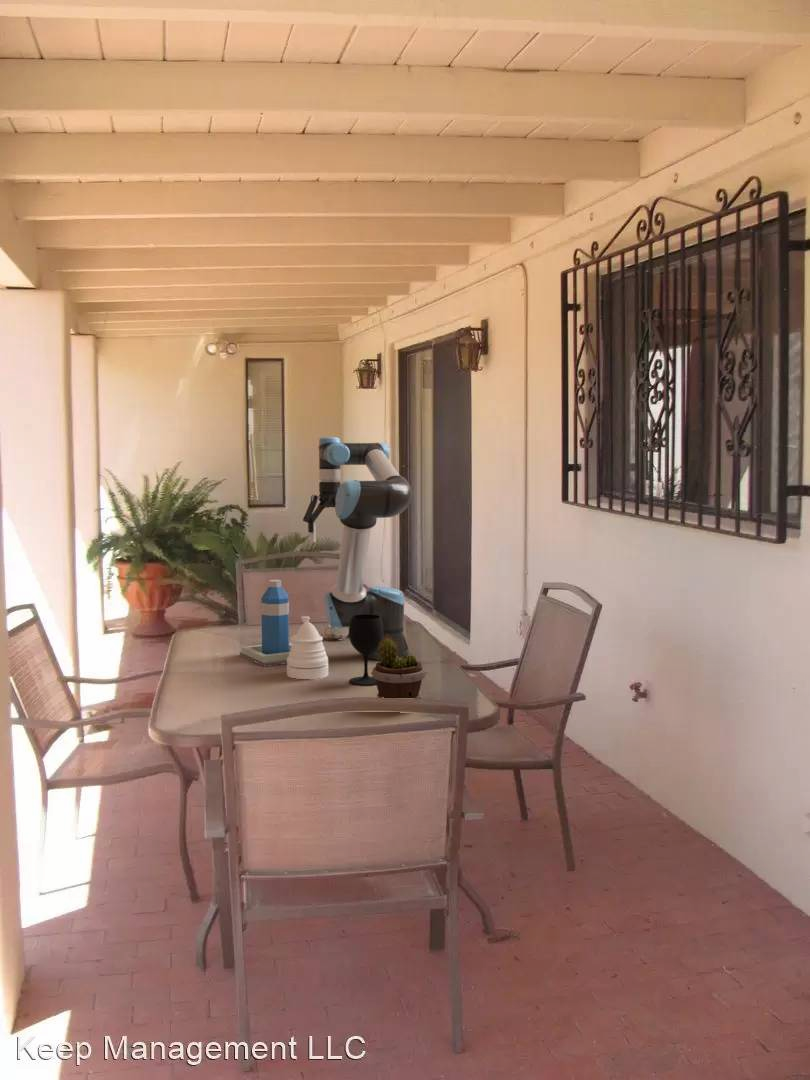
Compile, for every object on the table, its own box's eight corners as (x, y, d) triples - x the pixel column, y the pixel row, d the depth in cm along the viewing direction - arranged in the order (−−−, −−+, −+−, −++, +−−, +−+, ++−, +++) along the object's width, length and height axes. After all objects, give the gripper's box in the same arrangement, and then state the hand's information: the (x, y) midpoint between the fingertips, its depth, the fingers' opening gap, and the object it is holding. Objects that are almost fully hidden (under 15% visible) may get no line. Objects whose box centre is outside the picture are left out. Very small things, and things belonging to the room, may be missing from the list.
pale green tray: (312, 660, 343) (312, 651, 343) (265, 666, 334) (265, 657, 334) (285, 649, 360) (285, 640, 360) (239, 654, 351) (239, 646, 351)
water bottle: (256, 656, 345) (255, 581, 342) (270, 650, 353) (269, 577, 351) (281, 658, 341) (280, 583, 338) (294, 653, 350) (294, 579, 347)
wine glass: (370, 687, 308) (370, 621, 306) (341, 682, 314) (341, 617, 311) (389, 680, 317) (389, 615, 315) (361, 676, 322) (361, 612, 320)
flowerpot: (435, 703, 291) (435, 633, 289) (405, 716, 278) (406, 642, 276) (391, 695, 299) (392, 627, 297) (361, 707, 286) (361, 636, 284)
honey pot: (281, 672, 327) (281, 615, 325) (320, 668, 332) (320, 613, 330) (293, 681, 315) (293, 623, 313) (334, 677, 320) (333, 620, 318)
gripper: (355, 480, 377) (355, 538, 379) (293, 481, 364) (293, 541, 366) (365, 480, 371) (365, 539, 373) (303, 482, 357) (303, 543, 359)
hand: (330, 541), depth 369 cm, fingers open, 13 cm apart
